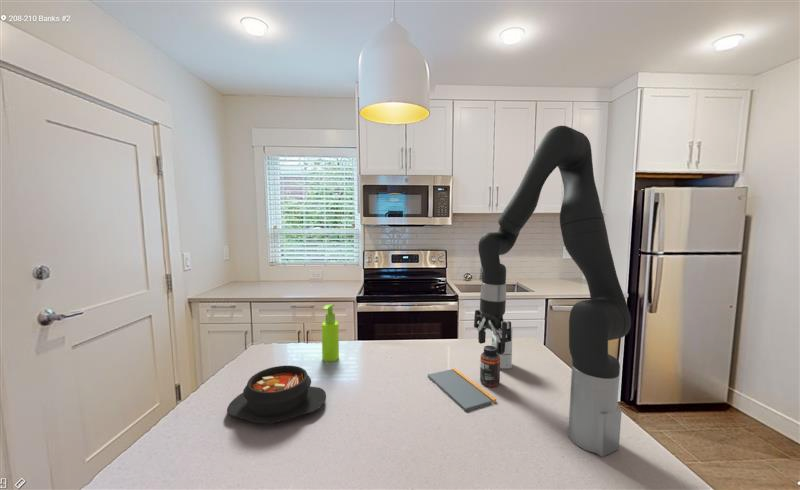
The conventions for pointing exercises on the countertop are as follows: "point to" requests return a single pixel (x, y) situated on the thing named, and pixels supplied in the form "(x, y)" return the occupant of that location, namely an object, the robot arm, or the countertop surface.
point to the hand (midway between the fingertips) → (490, 347)
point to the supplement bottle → (490, 367)
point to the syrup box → (507, 355)
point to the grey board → (461, 389)
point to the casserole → (277, 396)
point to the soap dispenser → (330, 336)
